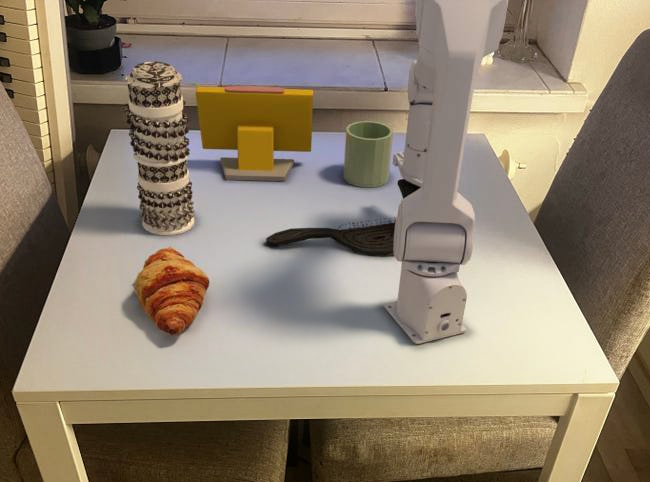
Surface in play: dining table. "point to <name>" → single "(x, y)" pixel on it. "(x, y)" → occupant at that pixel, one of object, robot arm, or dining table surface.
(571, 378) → the dining table surface
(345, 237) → the hairbrush
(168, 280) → the croissant
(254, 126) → the yellow framed monitor
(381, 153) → the coffee cup
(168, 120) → the decorative candle
